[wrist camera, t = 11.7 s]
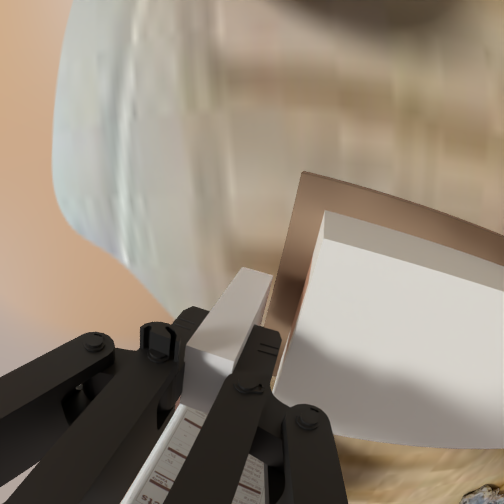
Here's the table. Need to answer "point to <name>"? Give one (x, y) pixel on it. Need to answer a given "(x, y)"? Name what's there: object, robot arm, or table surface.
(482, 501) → the mineral specimen
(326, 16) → the table surface
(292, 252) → the board
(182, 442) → the supplement box
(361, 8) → the table surface
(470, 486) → the table surface
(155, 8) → the table surface
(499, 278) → the panel
